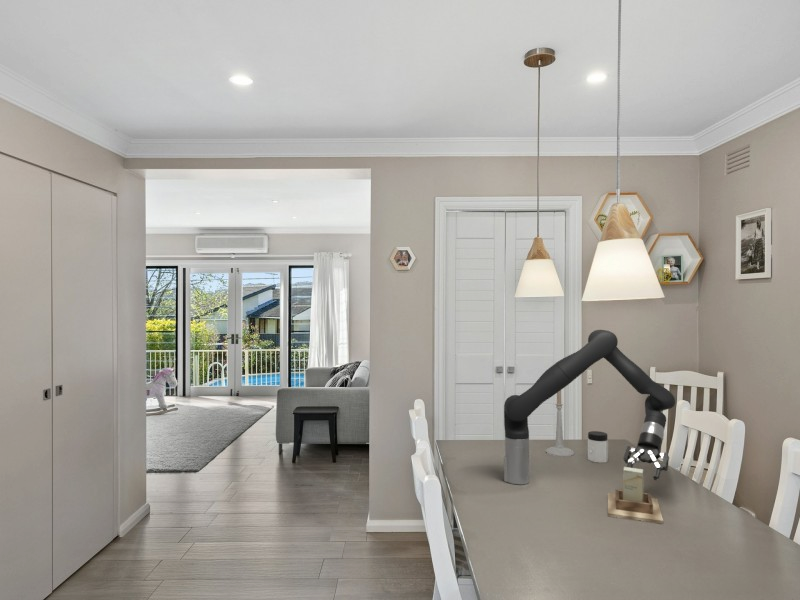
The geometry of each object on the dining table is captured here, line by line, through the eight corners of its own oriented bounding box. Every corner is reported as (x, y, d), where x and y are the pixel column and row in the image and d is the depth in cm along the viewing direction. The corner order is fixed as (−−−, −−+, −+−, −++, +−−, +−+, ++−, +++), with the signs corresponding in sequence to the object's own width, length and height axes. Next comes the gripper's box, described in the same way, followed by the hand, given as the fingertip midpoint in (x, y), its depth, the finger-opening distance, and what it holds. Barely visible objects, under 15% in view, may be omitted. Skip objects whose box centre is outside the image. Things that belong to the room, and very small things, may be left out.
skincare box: (622, 506, 171) (622, 469, 171) (623, 501, 175) (623, 466, 175) (643, 509, 168) (642, 472, 168) (644, 505, 172) (643, 469, 172)
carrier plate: (608, 516, 165) (607, 503, 165) (607, 495, 183) (607, 484, 183) (663, 524, 159) (662, 511, 159) (657, 501, 177) (657, 490, 177)
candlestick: (577, 456, 233) (577, 391, 234) (549, 456, 233) (549, 391, 234) (568, 449, 246) (568, 387, 246) (542, 449, 246) (541, 387, 247)
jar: (583, 458, 229) (583, 432, 230) (596, 456, 233) (595, 430, 234) (599, 464, 222) (599, 436, 222) (612, 461, 225) (612, 434, 226)
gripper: (628, 428, 189) (618, 466, 181) (670, 434, 180) (661, 474, 171) (633, 440, 193) (623, 477, 184) (674, 446, 184) (666, 486, 175)
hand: (641, 476), depth 178 cm, fingers open, 8 cm apart
